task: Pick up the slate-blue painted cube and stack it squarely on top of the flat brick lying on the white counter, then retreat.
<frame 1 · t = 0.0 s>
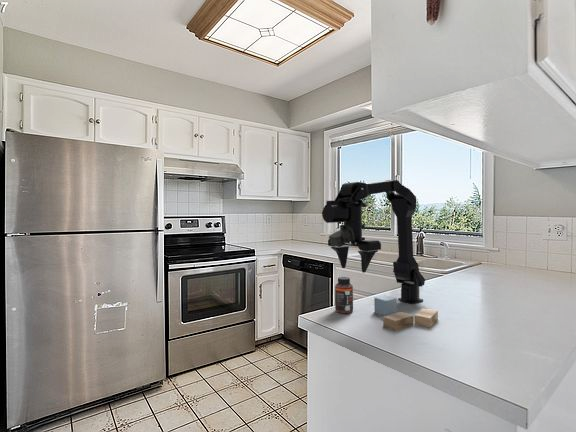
hand: (353, 270, 106), 15 cm above the counter, tool pointing down, fingers open, 9 cm apart
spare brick: (426, 322, 100), on the counter
base brick: (398, 326, 97), on the counter
cube: (385, 312, 109), on the counter
supplement bottle: (344, 311, 111), on the counter
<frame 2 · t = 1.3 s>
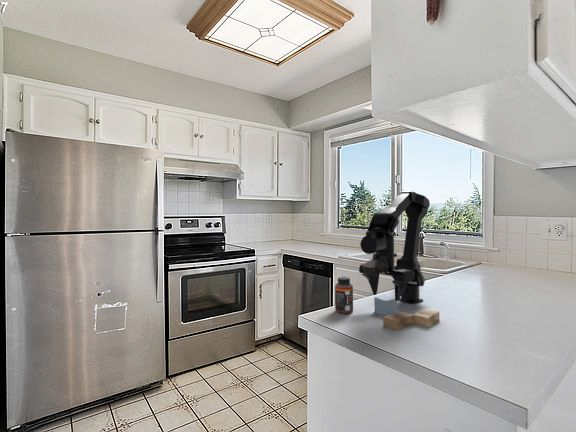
hand: (385, 297, 109), 5 cm above the counter, tool pointing down, fingers open, 9 cm apart
nothing on the counter moved.
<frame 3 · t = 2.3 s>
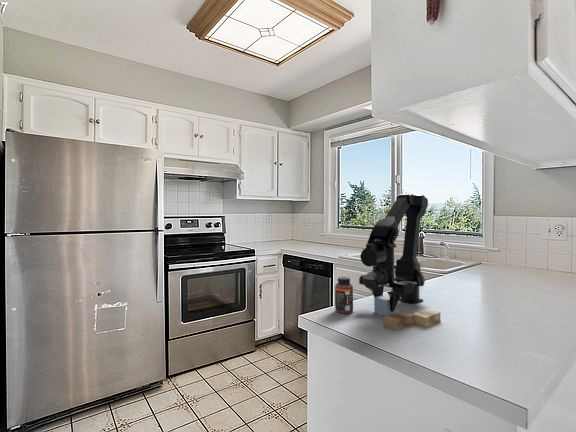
hand: (385, 309, 109), 1 cm above the counter, tool pointing down, fingers closed on cube, 5 cm apart
cube: (385, 312, 109), on the counter, touching gripper
everything else where it was.
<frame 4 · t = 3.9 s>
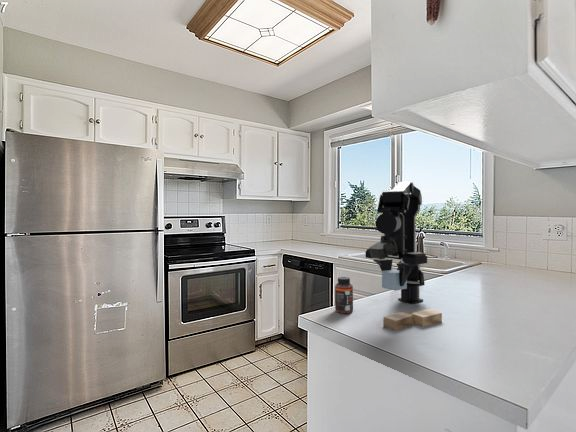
hand: (394, 284, 99), 12 cm above the counter, tool pointing down, fingers closed on cube, 5 cm apart
cube: (394, 288, 99), point 11 cm above the counter, touching gripper
everything else where it was.
when the fingers open (4 cm above the counter, at t = 5.6 s): cube stays where it is, point 3 cm above the counter.
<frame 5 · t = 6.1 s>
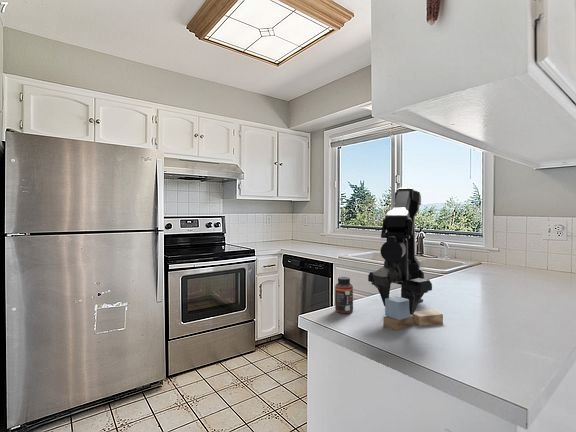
hand: (398, 309, 97), 4 cm above the counter, tool pointing down, fingers open, 9 cm apart
cube: (397, 316, 97), point 3 cm above the counter
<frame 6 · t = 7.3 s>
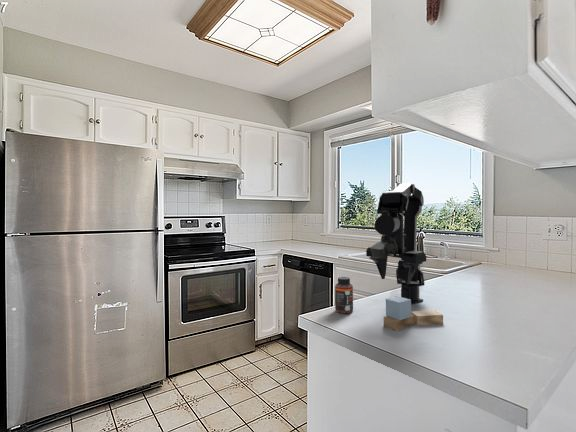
hand: (394, 281, 103), 11 cm above the counter, tool pointing down, fingers open, 9 cm apart
base brick: (399, 326, 97), on the counter, touching cube
cube: (398, 316, 97), point 3 cm above the counter, touching base brick
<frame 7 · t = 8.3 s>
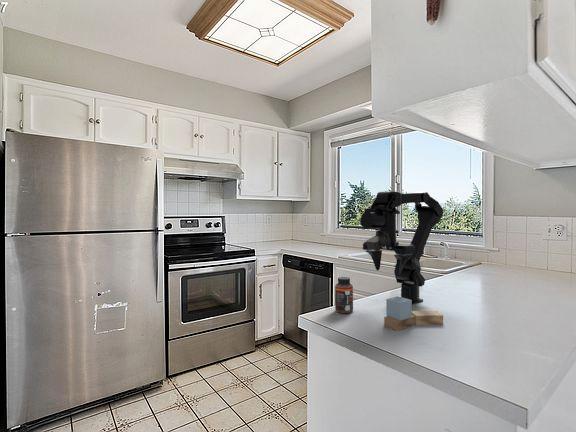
hand: (387, 272, 115), 12 cm above the counter, tool pointing down, fingers open, 9 cm apart
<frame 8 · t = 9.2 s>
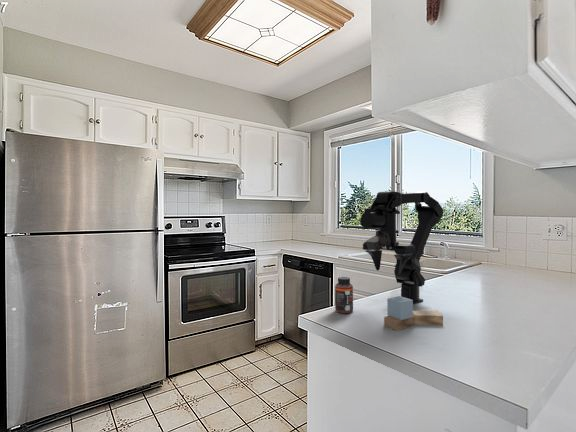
hand: (387, 272, 115), 12 cm above the counter, tool pointing down, fingers open, 9 cm apart
at the end: cube 0.2 cm off-centre on the base brick, point 3.0 cm above the base brick's base; cube tilted 0°; the gripper is holding nothing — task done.
